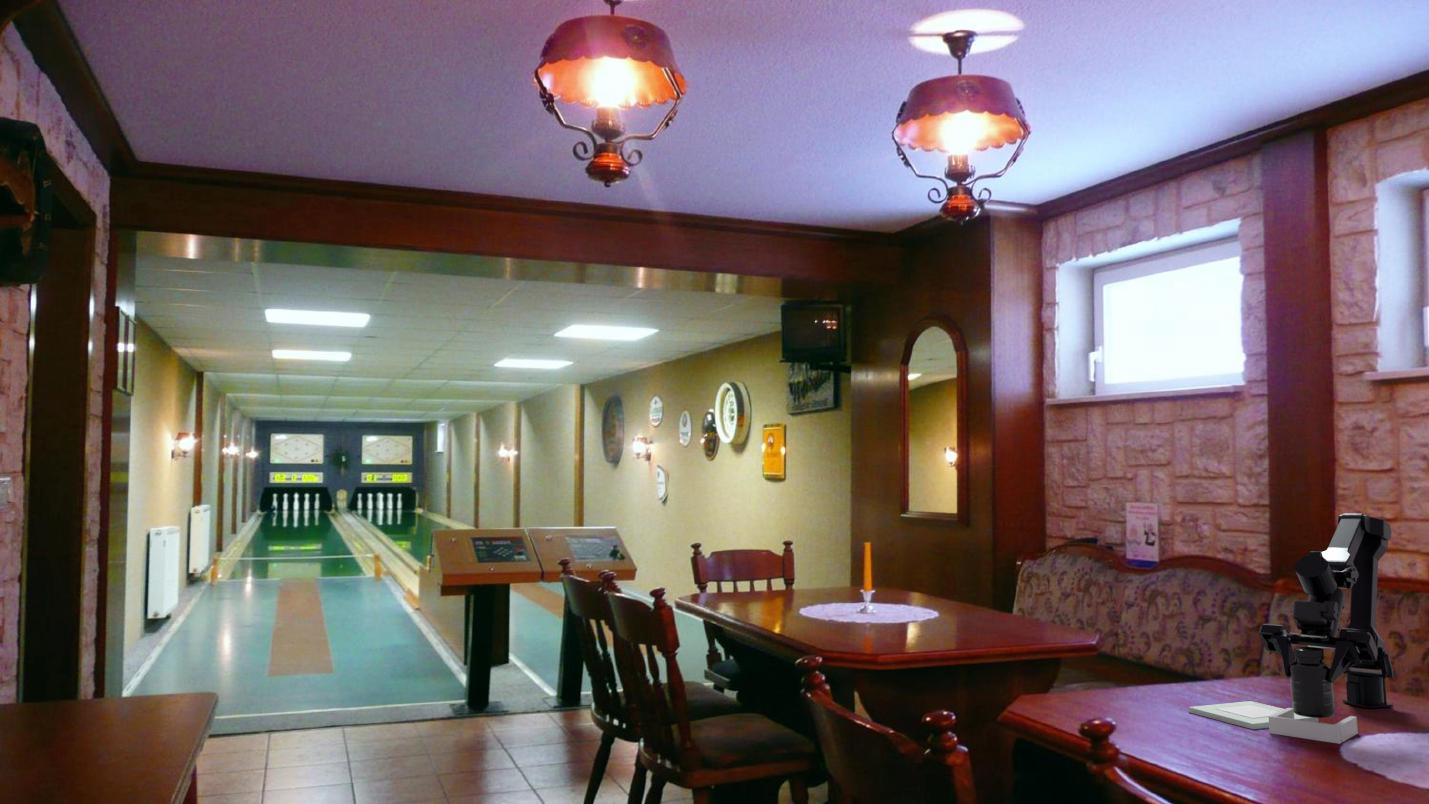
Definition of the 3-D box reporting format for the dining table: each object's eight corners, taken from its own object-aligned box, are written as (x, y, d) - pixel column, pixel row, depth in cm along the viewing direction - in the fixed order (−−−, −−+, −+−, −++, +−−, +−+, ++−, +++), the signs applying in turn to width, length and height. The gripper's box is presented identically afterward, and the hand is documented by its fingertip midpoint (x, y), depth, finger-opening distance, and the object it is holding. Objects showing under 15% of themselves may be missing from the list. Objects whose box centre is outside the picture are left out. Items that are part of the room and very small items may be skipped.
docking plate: (1250, 705, 211) (1250, 700, 211) (1318, 722, 196) (1317, 716, 196) (1188, 712, 206) (1188, 706, 206) (1253, 729, 191) (1252, 723, 191)
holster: (1289, 723, 195) (1288, 707, 195) (1357, 733, 187) (1356, 716, 187) (1269, 733, 188) (1268, 716, 188) (1339, 743, 179) (1338, 726, 180)
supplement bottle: (1324, 710, 191) (1319, 645, 192) (1342, 718, 184) (1338, 651, 185) (1285, 710, 192) (1281, 645, 193) (1302, 718, 185) (1298, 651, 186)
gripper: (1258, 581, 199) (1241, 646, 191) (1368, 587, 186) (1354, 657, 177) (1275, 618, 204) (1259, 682, 196) (1383, 626, 191) (1371, 696, 182)
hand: (1308, 678), depth 188 cm, fingers closed on supplement bottle, 7 cm apart
